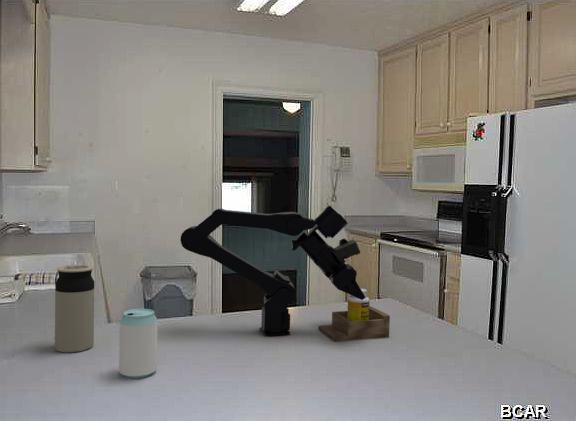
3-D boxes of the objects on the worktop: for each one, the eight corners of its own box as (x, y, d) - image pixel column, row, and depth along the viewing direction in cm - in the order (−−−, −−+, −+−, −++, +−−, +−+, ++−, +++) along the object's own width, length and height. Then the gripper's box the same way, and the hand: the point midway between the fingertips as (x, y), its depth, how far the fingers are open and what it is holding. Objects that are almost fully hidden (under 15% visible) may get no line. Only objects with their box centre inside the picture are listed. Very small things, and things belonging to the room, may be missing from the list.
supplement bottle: (361, 333, 124) (362, 293, 124) (342, 329, 128) (344, 289, 127) (372, 328, 129) (373, 289, 128) (354, 324, 132) (355, 286, 132)
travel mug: (101, 345, 113) (102, 266, 112) (72, 355, 105) (73, 271, 105) (75, 340, 116) (76, 263, 115) (46, 349, 109) (47, 268, 108)
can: (136, 382, 92) (137, 318, 91) (111, 374, 96) (111, 312, 95) (164, 371, 98) (165, 311, 97) (139, 363, 102) (140, 305, 101)
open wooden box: (334, 341, 120) (335, 318, 120) (318, 329, 130) (319, 308, 130) (389, 337, 125) (389, 315, 125) (369, 326, 135) (370, 306, 135)
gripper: (349, 232, 117) (392, 279, 119) (335, 226, 136) (373, 267, 137) (314, 265, 117) (359, 312, 118) (305, 254, 136) (344, 295, 137)
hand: (359, 294), depth 128 cm, fingers open, 9 cm apart
